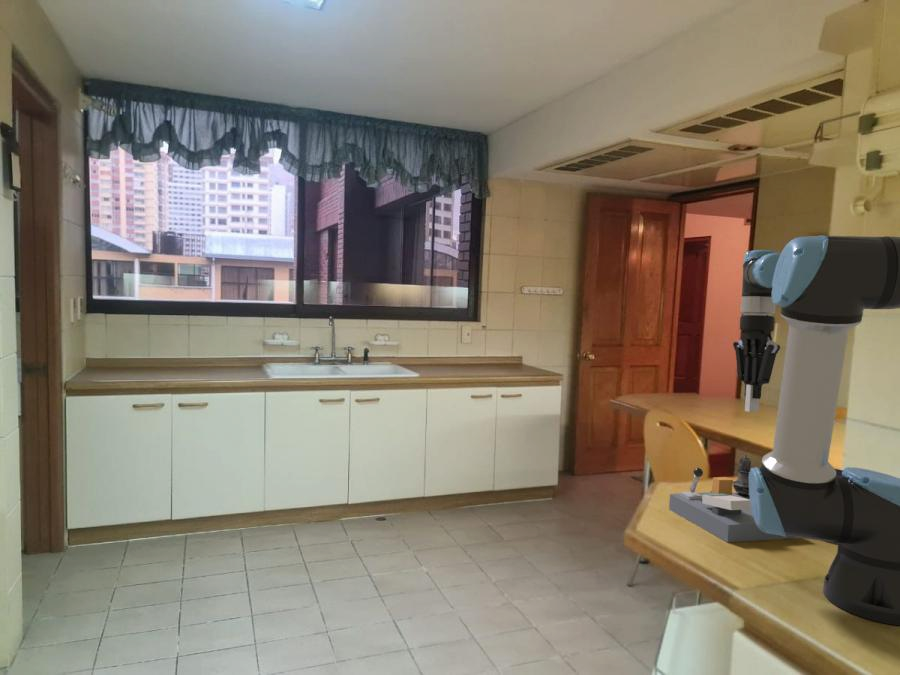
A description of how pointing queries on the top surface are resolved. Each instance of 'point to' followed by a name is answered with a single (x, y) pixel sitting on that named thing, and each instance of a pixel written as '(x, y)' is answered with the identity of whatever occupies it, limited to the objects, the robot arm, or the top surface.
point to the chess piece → (743, 478)
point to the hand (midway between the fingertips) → (751, 411)
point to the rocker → (726, 501)
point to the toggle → (695, 479)
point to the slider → (722, 485)
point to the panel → (719, 518)
